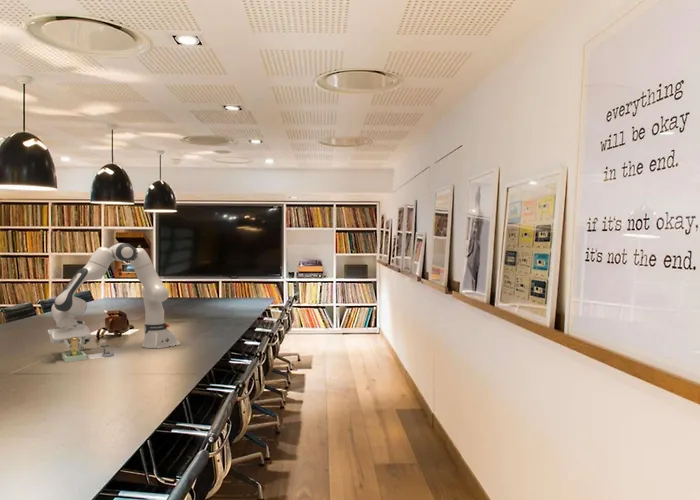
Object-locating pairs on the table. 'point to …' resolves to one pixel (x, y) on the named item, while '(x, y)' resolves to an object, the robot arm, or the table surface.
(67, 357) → the tray
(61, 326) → the robot arm
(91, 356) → the crank jig
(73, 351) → the amber drinking glass
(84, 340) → the pneumatic valve
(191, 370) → the table surface
